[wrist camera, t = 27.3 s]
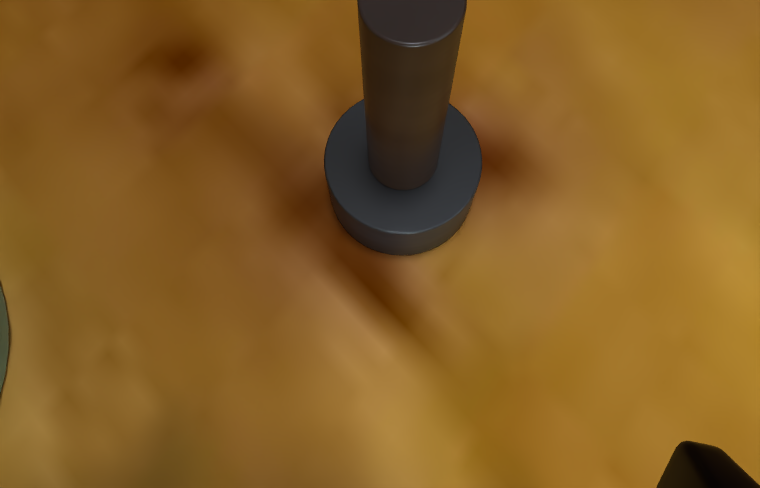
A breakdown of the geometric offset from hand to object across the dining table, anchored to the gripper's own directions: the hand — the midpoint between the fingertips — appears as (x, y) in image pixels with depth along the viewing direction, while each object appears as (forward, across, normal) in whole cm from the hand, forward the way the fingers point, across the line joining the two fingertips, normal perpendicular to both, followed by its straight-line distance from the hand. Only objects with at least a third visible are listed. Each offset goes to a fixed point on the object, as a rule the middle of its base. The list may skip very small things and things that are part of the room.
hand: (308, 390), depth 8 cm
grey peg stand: (+14, 0, +3) cm, 15 cm away
